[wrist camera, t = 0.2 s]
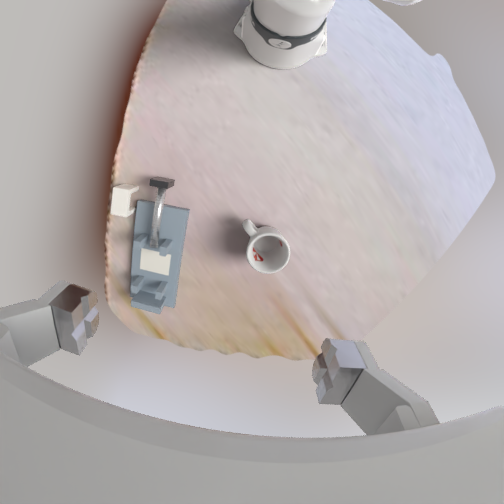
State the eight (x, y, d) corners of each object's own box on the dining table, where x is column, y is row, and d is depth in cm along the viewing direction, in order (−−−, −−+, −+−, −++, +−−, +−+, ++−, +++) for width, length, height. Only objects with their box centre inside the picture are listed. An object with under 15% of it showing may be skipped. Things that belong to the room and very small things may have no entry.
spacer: (121, 208, 55) (110, 214, 50) (124, 183, 53) (113, 187, 48) (135, 211, 55) (126, 217, 50) (139, 186, 53) (129, 190, 49)
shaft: (157, 176, 51) (150, 179, 47) (174, 179, 51) (168, 182, 47) (148, 241, 56) (141, 248, 52) (164, 245, 56) (158, 252, 52)
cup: (229, 227, 57) (226, 240, 49) (260, 202, 55) (261, 211, 48) (263, 265, 60) (265, 282, 52) (292, 242, 58) (299, 256, 51)
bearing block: (140, 199, 54) (127, 205, 48) (189, 209, 55) (182, 217, 49) (132, 293, 62) (122, 307, 56) (175, 304, 63) (168, 320, 57)
